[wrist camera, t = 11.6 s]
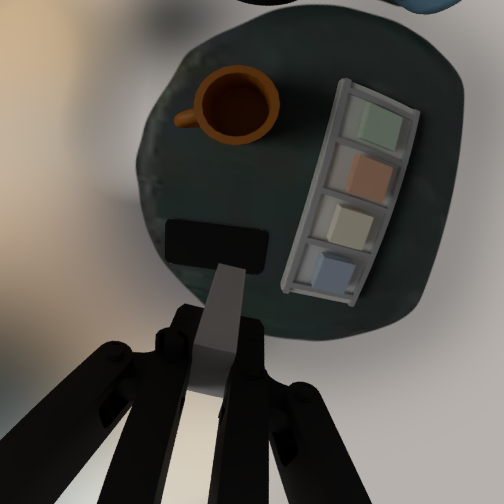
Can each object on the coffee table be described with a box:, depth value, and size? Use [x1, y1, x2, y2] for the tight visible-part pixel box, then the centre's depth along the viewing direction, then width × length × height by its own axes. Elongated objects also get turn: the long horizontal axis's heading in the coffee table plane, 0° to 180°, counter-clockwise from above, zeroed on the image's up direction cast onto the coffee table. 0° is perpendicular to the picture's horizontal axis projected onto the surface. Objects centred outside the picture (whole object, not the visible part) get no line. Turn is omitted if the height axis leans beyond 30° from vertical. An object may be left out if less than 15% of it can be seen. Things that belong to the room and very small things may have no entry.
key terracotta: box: [345, 154, 393, 203], centre depth 32 cm, size 5×5×2 cm
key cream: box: [327, 204, 374, 251], centre depth 35 cm, size 5×5×2 cm
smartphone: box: [165, 218, 268, 275], centre depth 41 cm, size 7×1×15 cm
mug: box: [174, 65, 280, 145], centre depth 30 cm, size 9×12×9 cm
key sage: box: [357, 103, 403, 151], centre depth 30 cm, size 5×5×2 cm
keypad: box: [281, 78, 420, 307], centre depth 36 cm, size 31×12×3 cm, turn 166°
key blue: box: [311, 252, 356, 295], centre depth 38 cm, size 5×5×2 cm
